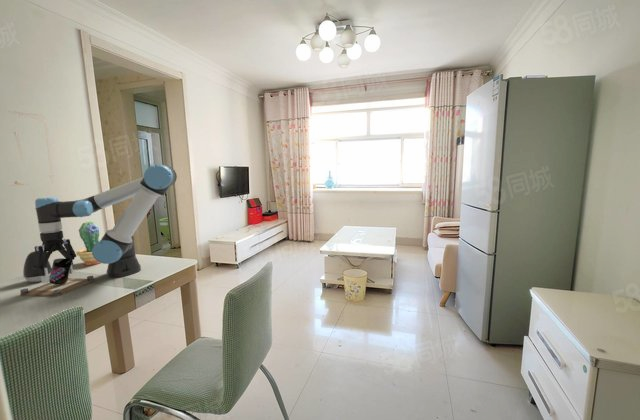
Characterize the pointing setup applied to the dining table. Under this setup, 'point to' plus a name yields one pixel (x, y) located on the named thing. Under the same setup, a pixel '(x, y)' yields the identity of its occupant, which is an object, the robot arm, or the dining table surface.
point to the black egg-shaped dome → (31, 273)
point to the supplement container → (60, 271)
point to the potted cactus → (88, 242)
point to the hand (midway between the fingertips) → (58, 277)
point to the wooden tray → (57, 287)
